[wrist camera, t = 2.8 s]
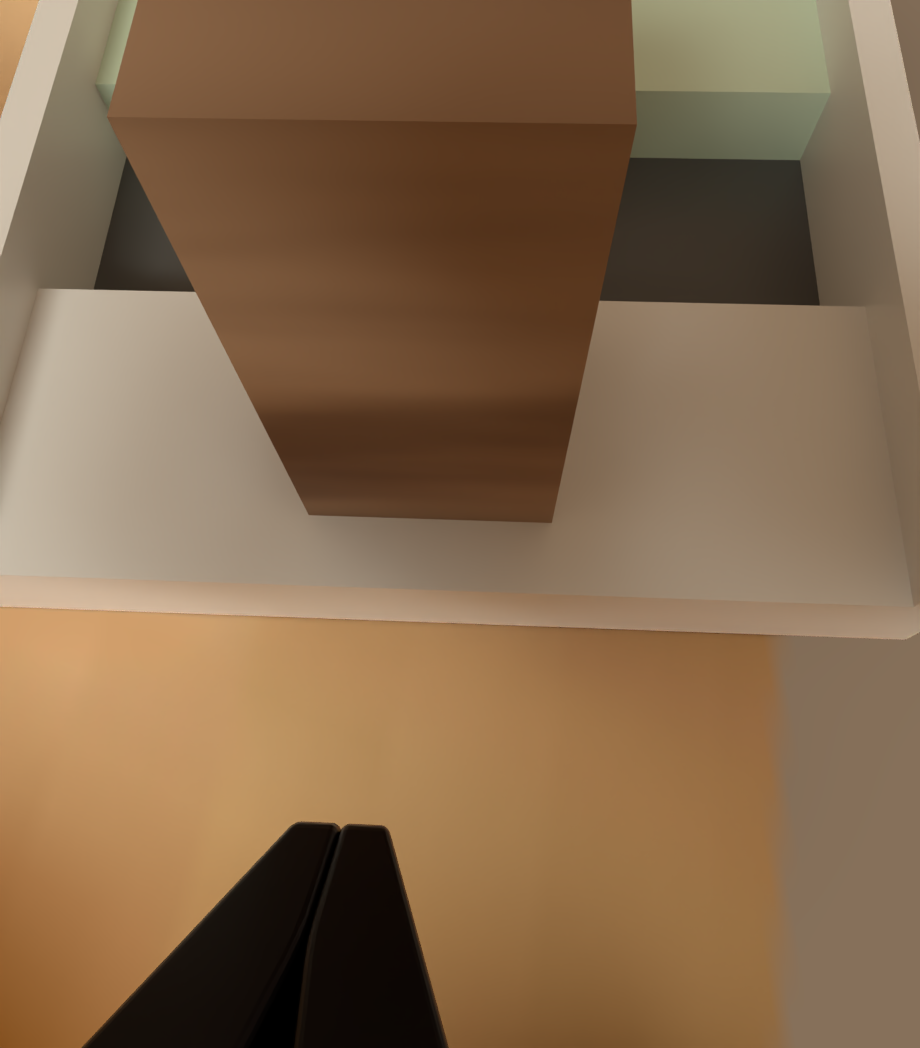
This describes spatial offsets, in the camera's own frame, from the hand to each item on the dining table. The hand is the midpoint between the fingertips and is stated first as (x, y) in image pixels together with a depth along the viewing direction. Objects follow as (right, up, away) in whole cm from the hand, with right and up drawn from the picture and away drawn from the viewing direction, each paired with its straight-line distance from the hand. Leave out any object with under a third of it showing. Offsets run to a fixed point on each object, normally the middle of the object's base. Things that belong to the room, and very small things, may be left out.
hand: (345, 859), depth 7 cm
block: (+1, +5, +11) cm, 12 cm away
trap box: (+1, +11, +15) cm, 19 cm away
